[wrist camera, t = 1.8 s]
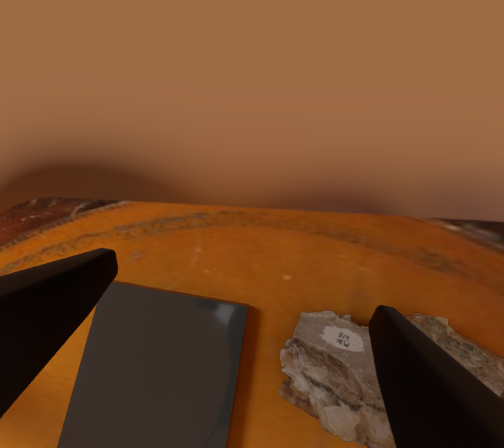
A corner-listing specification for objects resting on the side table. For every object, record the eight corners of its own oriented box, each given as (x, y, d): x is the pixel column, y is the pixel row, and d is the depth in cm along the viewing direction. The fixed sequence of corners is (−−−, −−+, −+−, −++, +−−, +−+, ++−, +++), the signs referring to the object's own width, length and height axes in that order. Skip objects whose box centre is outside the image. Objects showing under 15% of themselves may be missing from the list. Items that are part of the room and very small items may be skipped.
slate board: (212, 533, 18) (209, 551, 17) (53, 493, 19) (39, 508, 18) (248, 304, 22) (248, 306, 20) (111, 280, 23) (103, 280, 21)
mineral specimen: (368, 306, 27) (259, 366, 22) (387, 262, 23) (260, 320, 18) (509, 434, 17) (376, 603, 12) (582, 393, 14) (435, 616, 8)
